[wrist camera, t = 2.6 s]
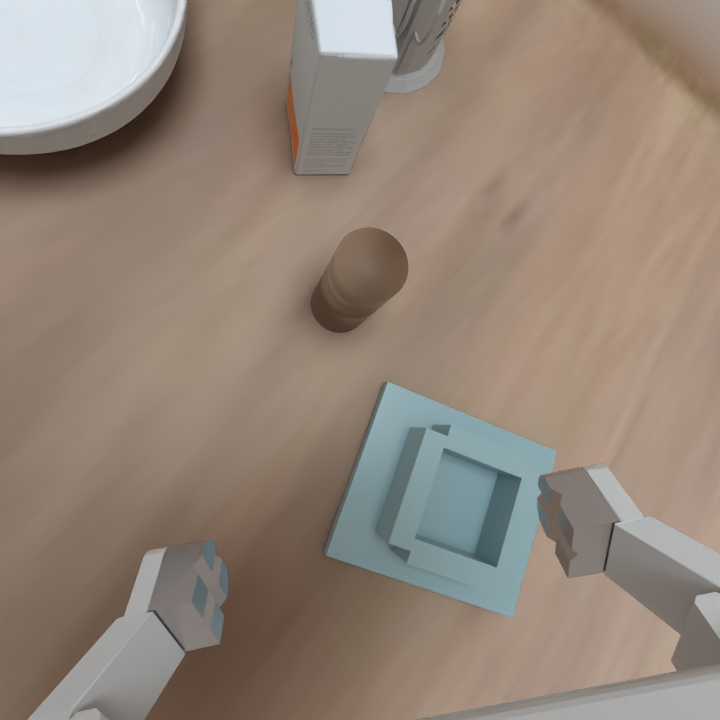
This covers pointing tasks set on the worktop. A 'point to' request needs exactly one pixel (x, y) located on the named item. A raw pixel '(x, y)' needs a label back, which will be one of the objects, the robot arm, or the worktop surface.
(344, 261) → the brown cylinder
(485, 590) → the holder
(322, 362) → the worktop surface
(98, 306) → the worktop surface
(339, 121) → the skincare box
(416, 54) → the french press
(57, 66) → the serving bowl
